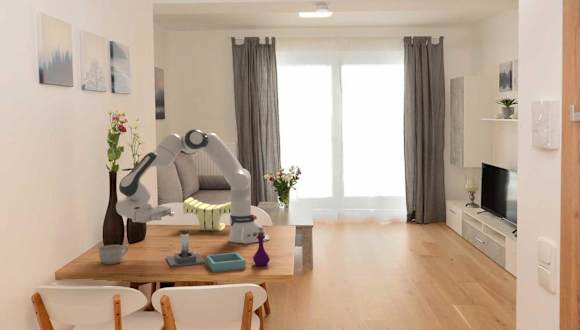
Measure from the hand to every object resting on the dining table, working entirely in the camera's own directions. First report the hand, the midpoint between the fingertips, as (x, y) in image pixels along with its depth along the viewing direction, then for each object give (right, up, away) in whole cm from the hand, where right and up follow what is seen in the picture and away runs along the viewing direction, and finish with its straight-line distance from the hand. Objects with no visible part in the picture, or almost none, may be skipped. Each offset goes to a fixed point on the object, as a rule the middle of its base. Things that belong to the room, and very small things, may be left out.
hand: (166, 216), depth 286 cm
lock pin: (+10, -20, -3) cm, 22 cm away
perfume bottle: (+46, -22, -12) cm, 52 cm away
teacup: (-24, -22, -4) cm, 33 cm away
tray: (+30, -22, -13) cm, 39 cm away
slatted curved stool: (+13, -13, +68) cm, 71 cm away
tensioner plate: (+10, -21, -3) cm, 23 cm away
